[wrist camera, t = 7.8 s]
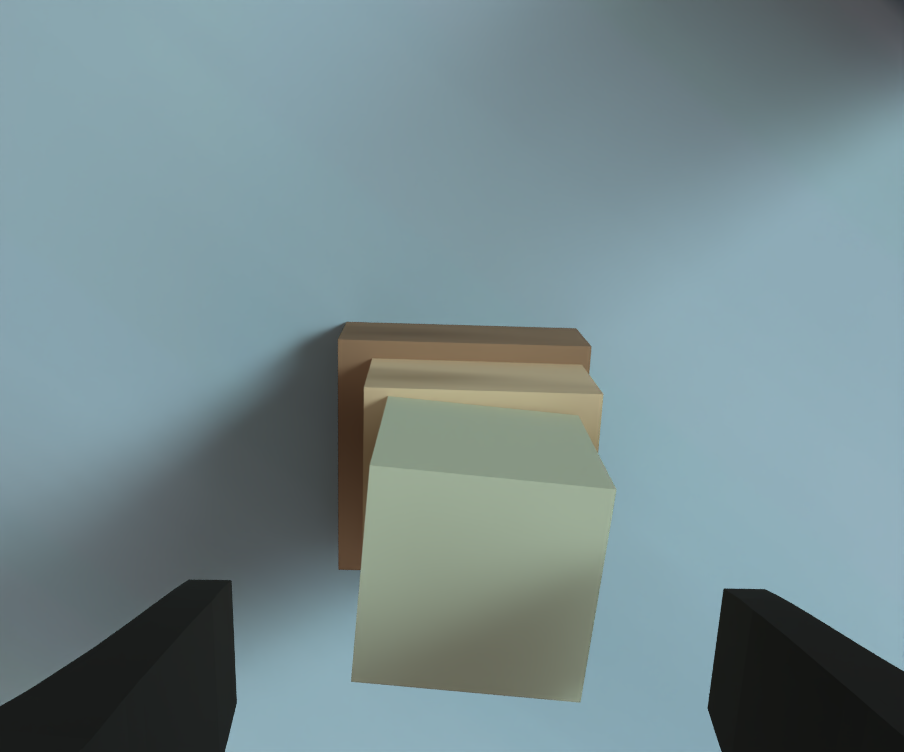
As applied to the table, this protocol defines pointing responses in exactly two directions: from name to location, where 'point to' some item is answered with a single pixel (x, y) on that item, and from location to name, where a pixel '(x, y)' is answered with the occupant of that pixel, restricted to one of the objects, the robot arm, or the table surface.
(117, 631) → the robot arm
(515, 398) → the tower mid
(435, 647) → the top block
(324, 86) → the table surface
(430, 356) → the tower base
